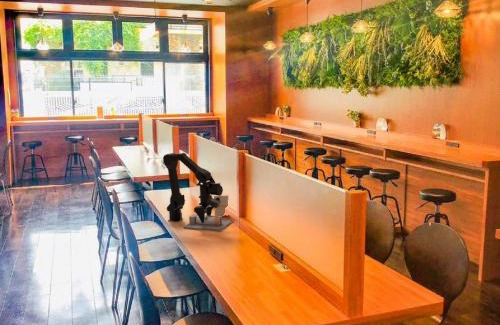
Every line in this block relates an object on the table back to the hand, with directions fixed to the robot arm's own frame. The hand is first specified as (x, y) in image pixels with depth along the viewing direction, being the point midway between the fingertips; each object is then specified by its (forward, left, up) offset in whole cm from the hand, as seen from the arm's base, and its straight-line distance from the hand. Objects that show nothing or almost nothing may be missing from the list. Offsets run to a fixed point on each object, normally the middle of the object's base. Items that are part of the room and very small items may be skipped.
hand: (206, 220), depth 279 cm
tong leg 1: (+2, -1, -1) cm, 3 cm away
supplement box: (+1, +20, -3) cm, 21 cm away
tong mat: (+1, 0, -2) cm, 3 cm away
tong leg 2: (+2, +1, -1) cm, 3 cm away
